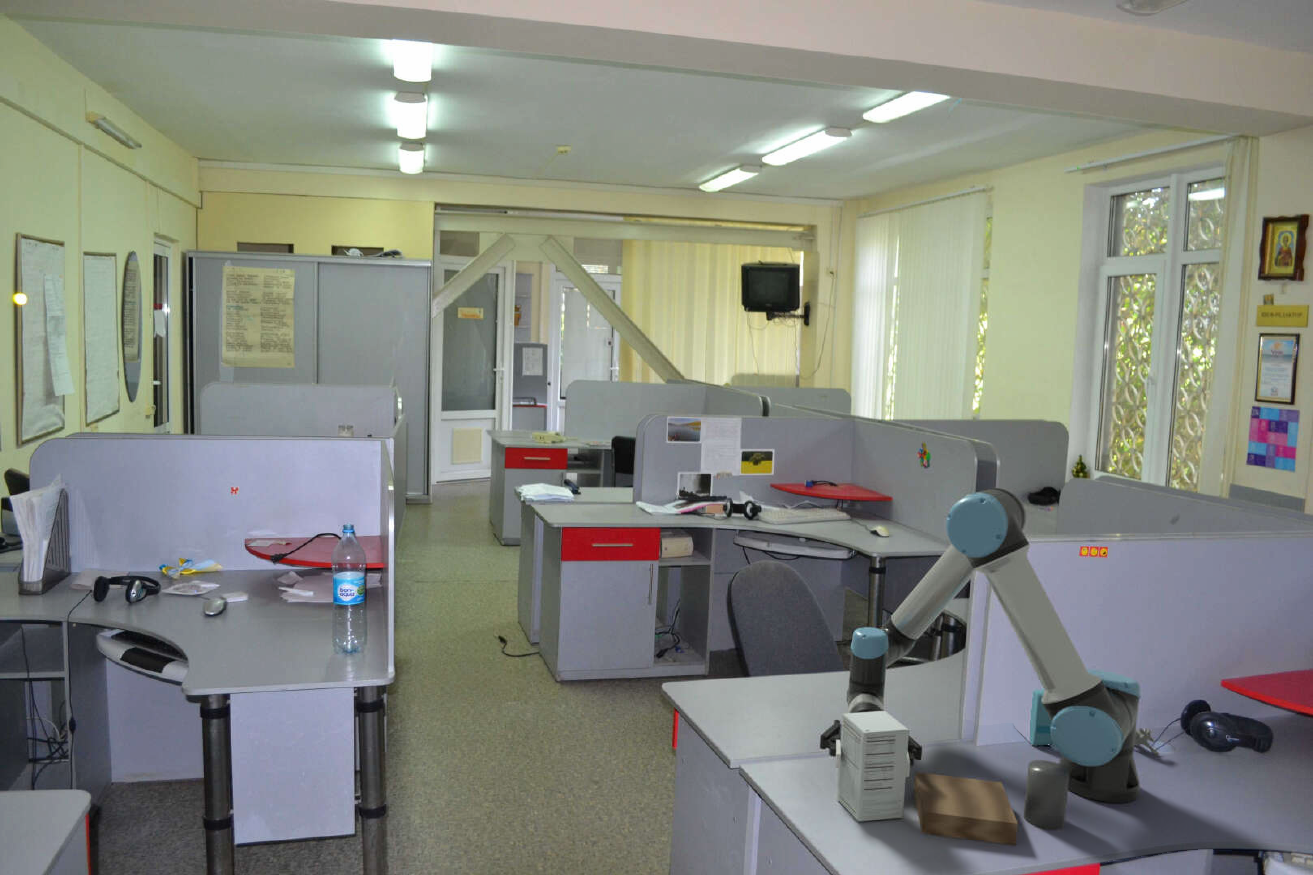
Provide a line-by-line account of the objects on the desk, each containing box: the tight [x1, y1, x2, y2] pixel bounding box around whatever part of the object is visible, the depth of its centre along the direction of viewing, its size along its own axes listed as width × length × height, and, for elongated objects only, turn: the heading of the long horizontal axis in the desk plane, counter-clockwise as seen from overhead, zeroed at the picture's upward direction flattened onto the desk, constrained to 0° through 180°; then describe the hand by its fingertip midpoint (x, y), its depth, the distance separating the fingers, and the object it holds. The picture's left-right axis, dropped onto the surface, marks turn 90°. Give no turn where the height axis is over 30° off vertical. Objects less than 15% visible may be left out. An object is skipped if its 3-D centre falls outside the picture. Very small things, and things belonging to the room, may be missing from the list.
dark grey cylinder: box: [1023, 759, 1069, 831], centre depth 180 cm, size 7×7×10 cm
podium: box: [913, 771, 1019, 846], centre depth 180 cm, size 16×16×4 cm
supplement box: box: [836, 710, 910, 822], centre depth 180 cm, size 10×9×17 cm
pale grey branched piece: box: [1134, 725, 1160, 757], centre depth 215 cm, size 10×6×9 cm
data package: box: [1030, 689, 1054, 746], centre depth 218 cm, size 12×4×12 cm, turn 2°
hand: (872, 765), depth 179 cm, fingers closed on supplement box, 12 cm apart
